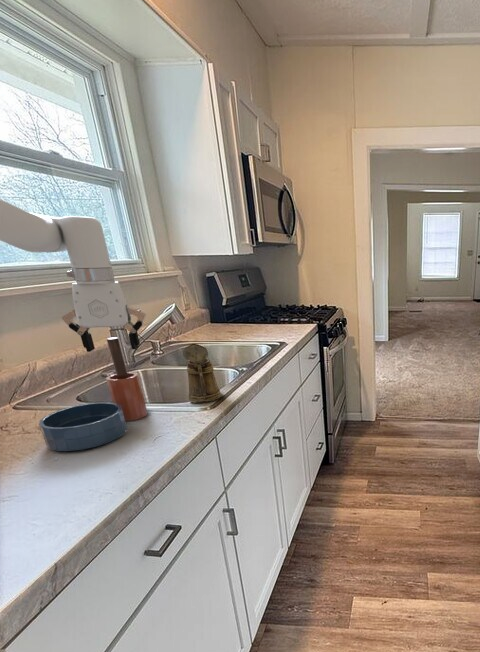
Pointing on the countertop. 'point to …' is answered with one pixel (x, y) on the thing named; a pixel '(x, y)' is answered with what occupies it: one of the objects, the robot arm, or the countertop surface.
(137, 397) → the holder
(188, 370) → the wooden mug
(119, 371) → the stick
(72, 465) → the countertop surface
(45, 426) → the bowl
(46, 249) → the robot arm
